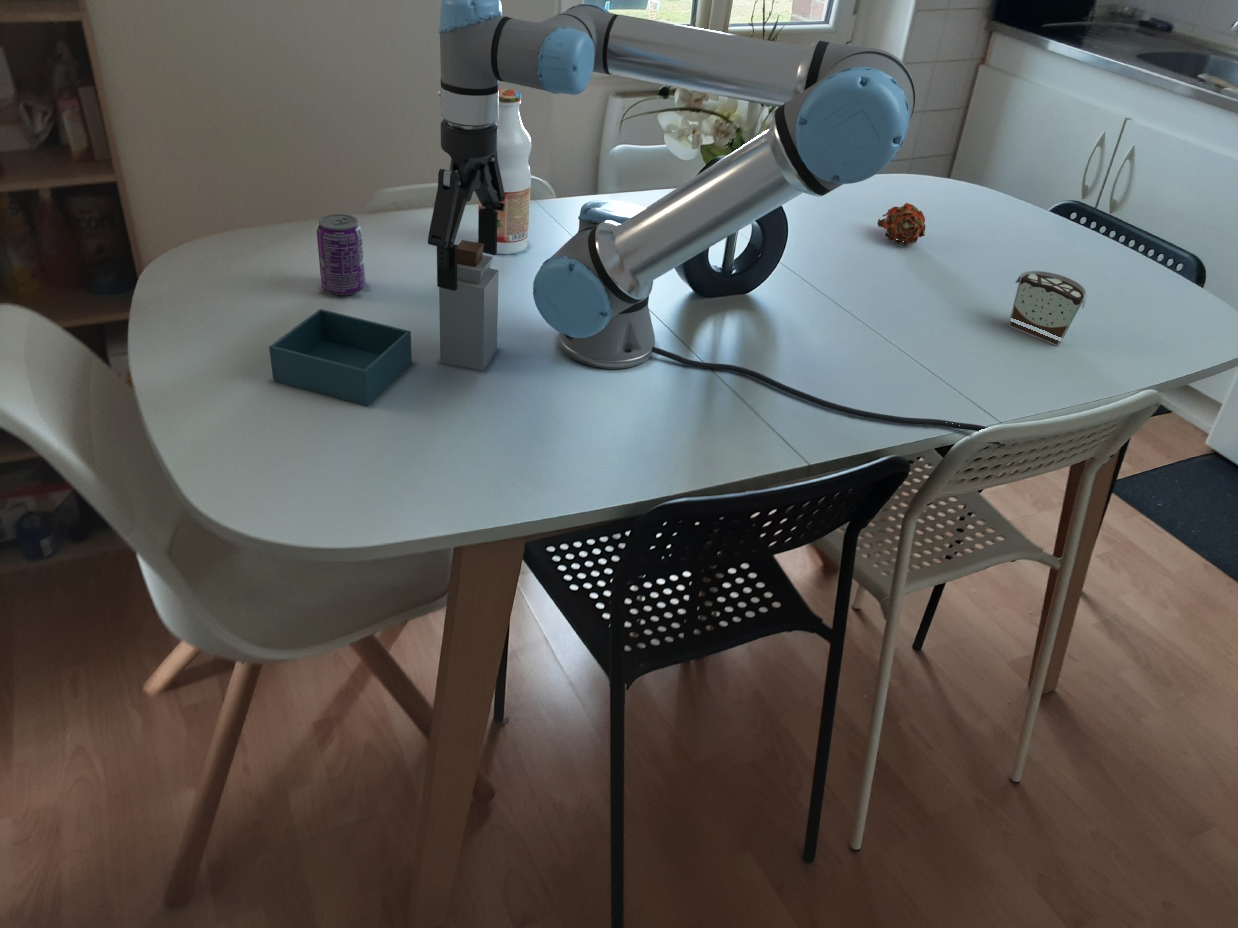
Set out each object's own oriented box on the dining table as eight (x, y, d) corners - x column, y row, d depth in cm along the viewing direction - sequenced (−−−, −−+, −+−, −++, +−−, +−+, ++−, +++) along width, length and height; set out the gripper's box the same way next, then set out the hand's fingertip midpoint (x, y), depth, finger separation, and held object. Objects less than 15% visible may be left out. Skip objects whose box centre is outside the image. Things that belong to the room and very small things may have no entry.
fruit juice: (530, 256, 180) (536, 102, 164) (478, 255, 179) (480, 99, 162) (526, 235, 188) (532, 86, 171) (476, 234, 186) (478, 83, 170)
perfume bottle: (483, 370, 145) (484, 259, 135) (440, 362, 146) (438, 251, 136) (496, 350, 151) (499, 241, 140) (455, 342, 152) (454, 233, 141)
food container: (1079, 339, 173) (1100, 288, 167) (1065, 349, 169) (1087, 298, 164) (1014, 313, 180) (1033, 263, 174) (1000, 323, 176) (1018, 272, 170)
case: (412, 364, 145) (410, 331, 142) (367, 406, 135) (365, 371, 131) (323, 341, 148) (319, 308, 145) (273, 381, 138) (268, 346, 134)
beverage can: (350, 276, 167) (346, 209, 160) (373, 291, 163) (370, 223, 156) (313, 286, 162) (307, 217, 155) (336, 302, 158) (330, 233, 152)
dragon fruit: (907, 261, 199) (881, 245, 210) (942, 237, 199) (914, 222, 209) (891, 227, 195) (865, 213, 205) (927, 202, 194) (899, 189, 205)
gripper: (482, 94, 138) (480, 234, 151) (397, 141, 119) (403, 298, 131) (531, 103, 137) (525, 244, 149) (454, 153, 117) (454, 310, 130)
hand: (468, 269), depth 140 cm, fingers open, 13 cm apart
